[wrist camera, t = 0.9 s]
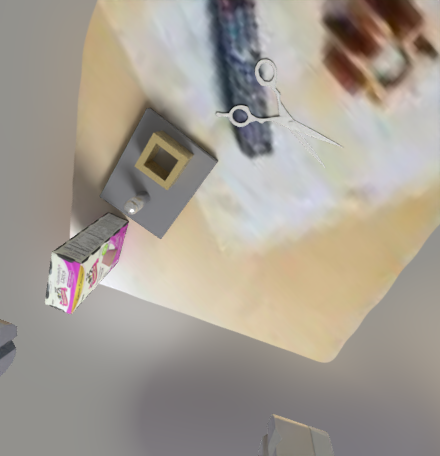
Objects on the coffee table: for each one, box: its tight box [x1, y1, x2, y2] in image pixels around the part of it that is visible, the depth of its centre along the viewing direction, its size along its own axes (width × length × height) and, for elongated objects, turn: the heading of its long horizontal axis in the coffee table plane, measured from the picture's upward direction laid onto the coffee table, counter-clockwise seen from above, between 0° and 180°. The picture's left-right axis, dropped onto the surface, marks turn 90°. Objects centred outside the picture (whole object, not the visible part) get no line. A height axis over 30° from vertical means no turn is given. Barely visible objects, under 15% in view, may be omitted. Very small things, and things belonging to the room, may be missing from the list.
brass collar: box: [135, 130, 194, 190], centre depth 44 cm, size 6×6×4 cm
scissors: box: [216, 59, 344, 167], centre depth 42 cm, size 11×1×20 cm
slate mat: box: [100, 108, 218, 239], centre depth 48 cm, size 19×14×2 cm
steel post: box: [124, 191, 150, 214], centre depth 46 cm, size 2×2×6 cm
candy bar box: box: [45, 213, 129, 314], centre depth 48 cm, size 11×5×16 cm, turn 158°
